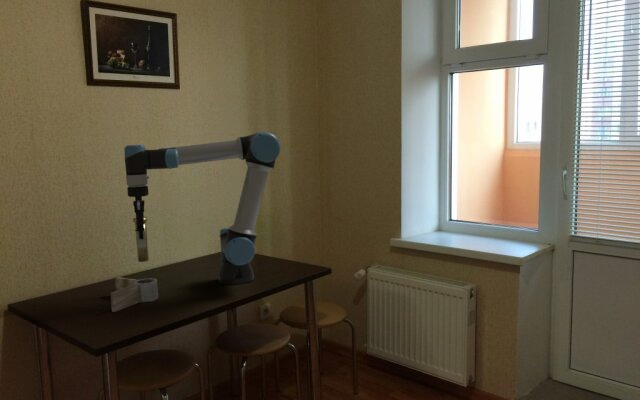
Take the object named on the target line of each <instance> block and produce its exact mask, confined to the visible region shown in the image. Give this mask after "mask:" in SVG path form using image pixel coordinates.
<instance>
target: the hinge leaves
mask: <svg viewBox="0 0 640 400" xmlns="http://www.w3.org/2000/svg"><path fill="white" fill-rule="evenodd" d="M137 280H138V279H134V278H127V277H119V276H116V277H114V283H115V291H112V292H110V301H111V302H110V305H111V312H113V313H115V312H119V311H120V310H123V309H125V308H129V307H131V306H134V305H136V304H138V303H141V302H140V299H139V287H138V284H135V285H134V281H137Z"/></svg>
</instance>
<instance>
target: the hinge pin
mask: <svg viewBox="0 0 640 400" xmlns="http://www.w3.org/2000/svg"><path fill="white" fill-rule="evenodd" d="M143 221H144V229H145V241H146V247H144V248H138V236H137V231H135V230H137V223H136V217H133V218H132V222H133V223H134V229H135V230H134V231H135V239H136V240H135V241H136V243H135V244H136V254H137V262H139V263H143V262H144V263H145V262H148V261H149V260H150V258H149V257H150V255H149V244H148V231H147V228H146V227H147V222H148V217H147V216H144V217H143Z"/></svg>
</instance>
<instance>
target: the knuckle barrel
mask: <svg viewBox="0 0 640 400" xmlns="http://www.w3.org/2000/svg"><path fill="white" fill-rule="evenodd" d="M136 280H137V281H134V285H135V284H138V287H139V299H140V302H139V303H147V302H153V301H156V300H158V299H159V290H158V279H157V278H152V277H149V278H140V279H136Z"/></svg>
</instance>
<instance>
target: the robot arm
mask: <svg viewBox="0 0 640 400" xmlns="http://www.w3.org/2000/svg"><path fill="white" fill-rule="evenodd" d="M277 137H278V136H275V135H274V134H273V133H271V132H268V131H262V132H261V131H260V132H256V133H252V134H250V135H245V136H239V137H237V138H236V139H233V140H224V141H216V142H210V143H209V142H208V143H207V142H206V143H200V144H199V143H198V144H191V145H183V146H175V147H173V146H172V147H167V148H166V147H165V148H163V147H161V148H157V149H146V145H145V144H129V145H128V144H127V145H125V146H124V165H125V166H124V167H125V180H126V186H127V197H129V198H134V199H135V200H133V201H132V202H133V203H132V204H133V205H132V206H133V207H134V208H133V210H134V213H135V218H136V223H137V230H134V231H135V232H136V231H137V236H138V248H144V247H146V241H145V229H144V221H143V217H145V215H144V213H145V200H144V199H143V197H147V196H149V195H150V194H149V186H148V179H150V176H149V175H148V170H162V169H163V170H165V169H168V170H170V169H171V170H172V169H177V168H178V167H179V166H185V165H192V164H193V165H194V164H199V163H207V162H208V163H210V162H217V161H225V160H233V159H239V160H241V161H244V162H245V164H246V166H247V169H246V173H245V178H244V181H243V184H242V185H243V186H242V190H241V193H240V198H239V202H238V206H237V209H236V214H235V218H234V222H233V224H232V225H231V226H229V227H226V228H225V227H224V228H221V229H220V230H219V239H220V240H219V241H220V242H219V243H220V254H221V255H220V256H221V266H220V270H219V274H218V283H220V284H222V285H242V284H246V283H250V282H251V281H253V280H254V279H255V274H254V271H253V268H252V265H251V261H252V260H253V258H254V257H255V253H256V247H255V245H256V241H257V236H258V233H257V232H256V225H257V220H258V217H259V212H260V209H261V205H262V200H263V196H264V192H265V189H266V184H267V180H268V176H269V173H270V172H271V171H272V170H274V167H275V164H276V160H277V159H278V157H279V155H280V154H281V148H282V147H281V143H280V140H279V139H278V138H277ZM146 229H147V226H146Z"/></svg>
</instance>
